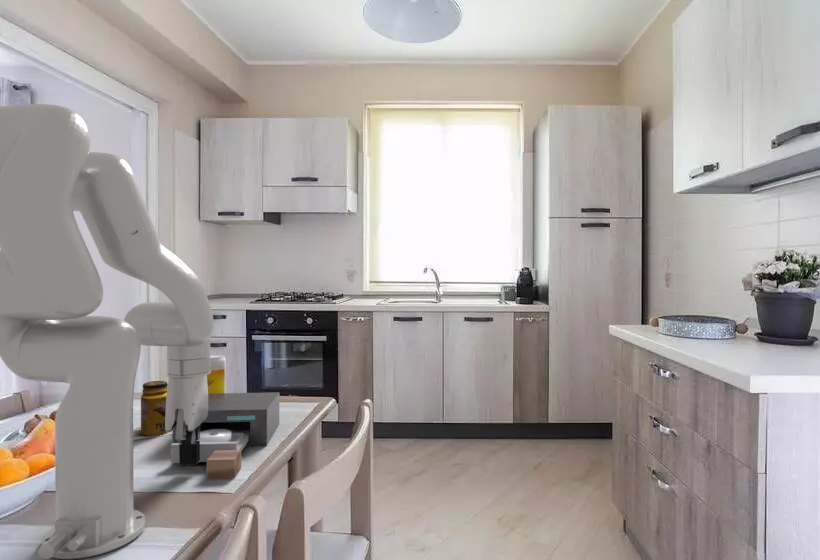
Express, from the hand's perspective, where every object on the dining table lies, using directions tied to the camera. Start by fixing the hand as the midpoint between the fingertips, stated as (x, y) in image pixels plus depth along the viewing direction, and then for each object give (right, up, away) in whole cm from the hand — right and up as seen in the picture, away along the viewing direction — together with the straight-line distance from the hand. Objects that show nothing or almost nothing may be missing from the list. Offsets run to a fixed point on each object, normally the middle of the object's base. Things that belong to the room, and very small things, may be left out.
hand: (189, 463), depth 95 cm
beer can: (-12, -2, +44) cm, 46 cm away
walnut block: (+6, -2, 0) cm, 7 cm away
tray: (0, -1, +12) cm, 12 cm away
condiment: (-20, -2, +24) cm, 31 cm away
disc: (0, 0, +11) cm, 11 cm away
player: (0, -2, +23) cm, 23 cm away
